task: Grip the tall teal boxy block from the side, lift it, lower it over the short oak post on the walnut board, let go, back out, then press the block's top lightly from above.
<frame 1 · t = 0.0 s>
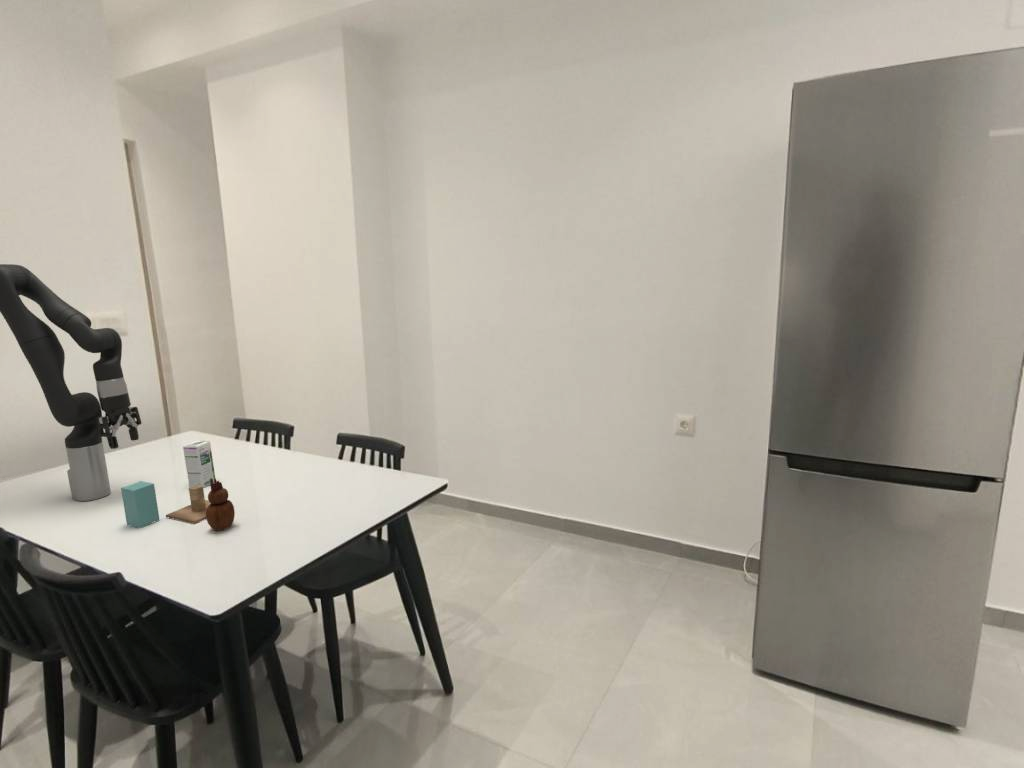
hand: (124, 444, 174), 17 cm above the table, tool pointing down, fingers open, 8 cm apart
post: (199, 512, 164), on the table
teal boxy block: (143, 522, 158), on the table
wooden figurine: (222, 528, 153), on the table
syrup box: (202, 485, 186), on the table
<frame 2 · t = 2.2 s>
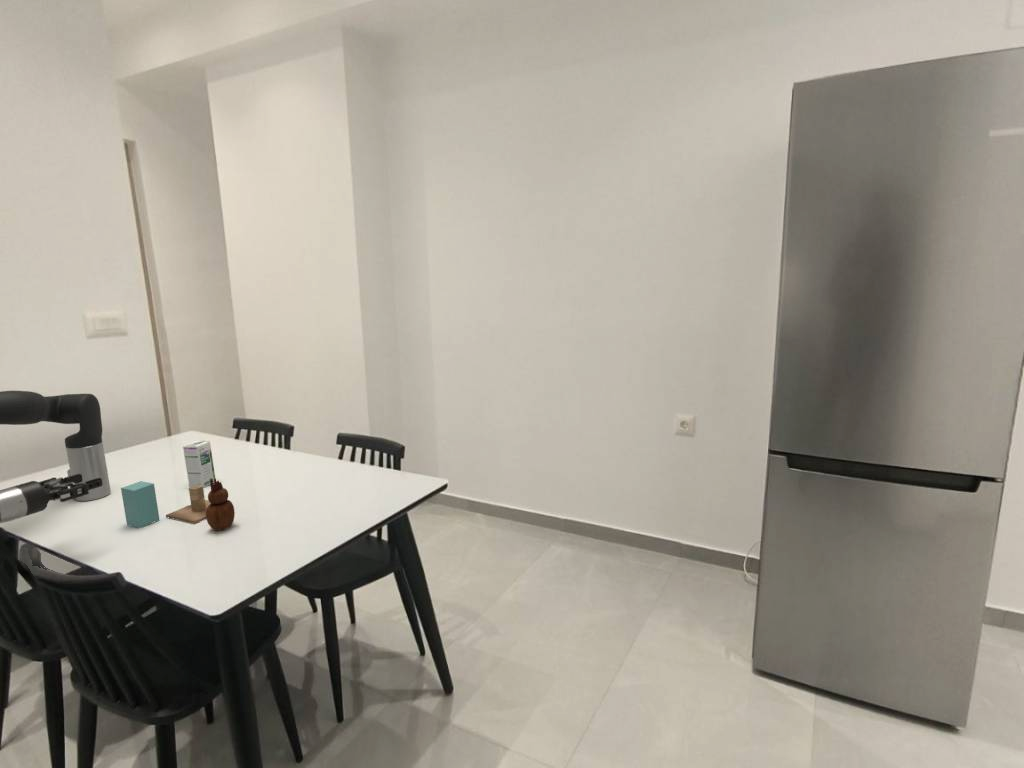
hand: (91, 479, 145), 17 cm above the table, tool horizontal, fingers open, 8 cm apart
nothing on the table moved.
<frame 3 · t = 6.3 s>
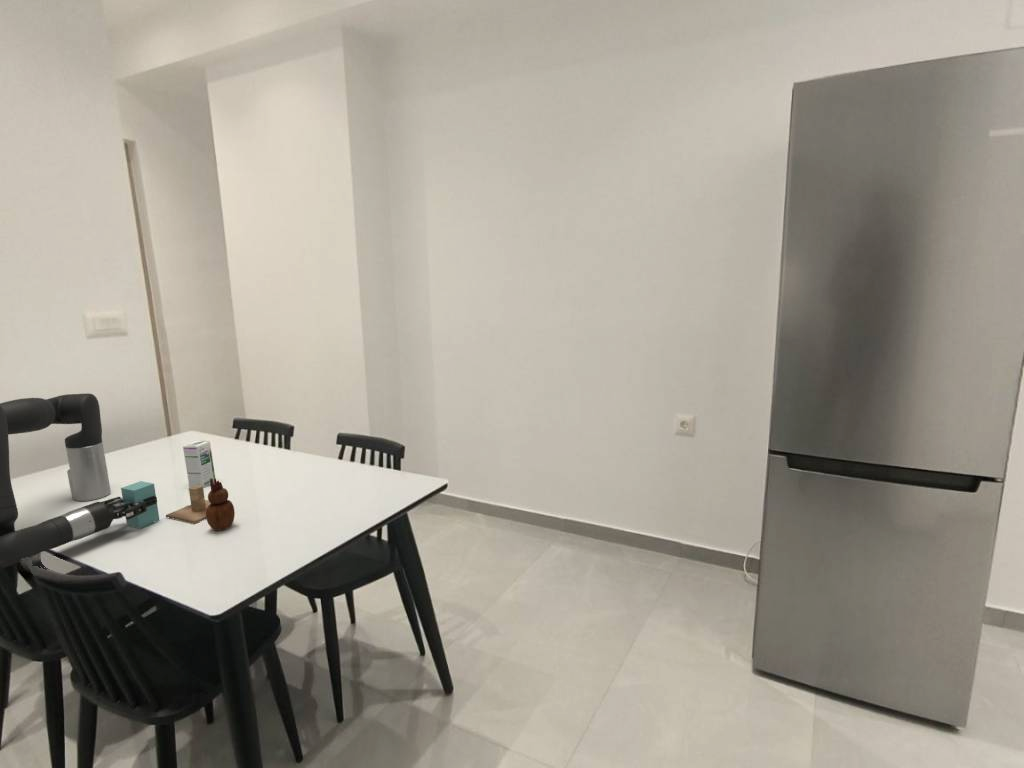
hand: (148, 497, 159), 7 cm above the table, tool horizontal, fingers closed on teal boxy block, 5 cm apart
teal boxy block: (143, 522, 158), on the table, touching gripper
everything else where it was.
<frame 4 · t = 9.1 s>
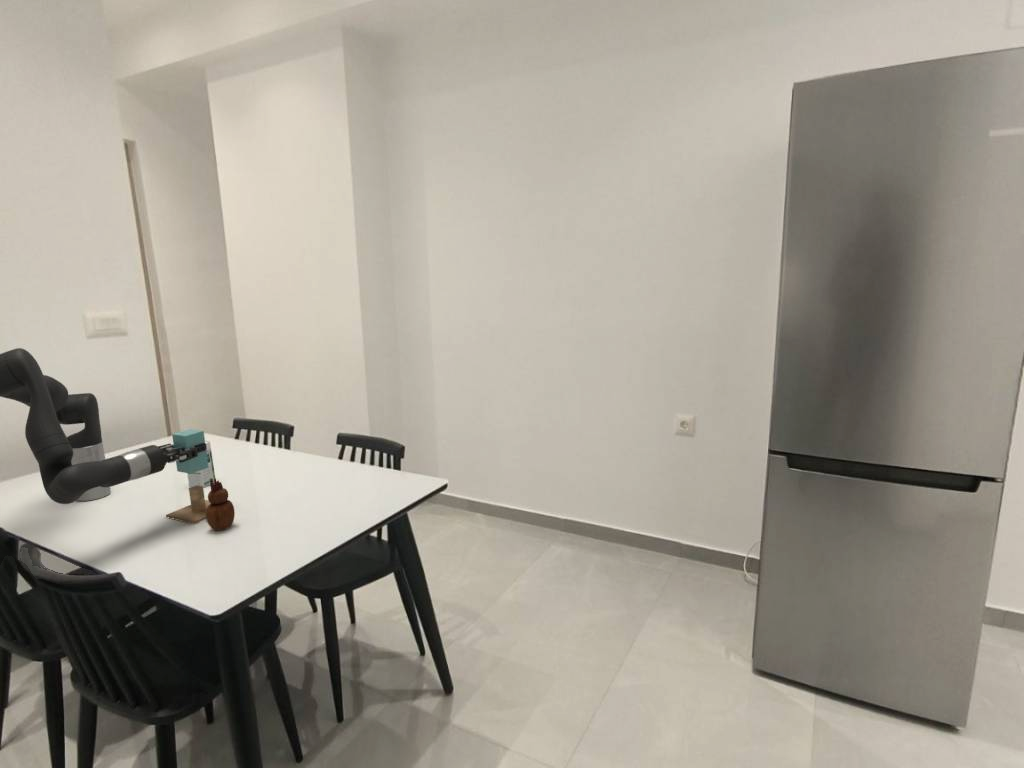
hand: (197, 445, 162), 20 cm above the table, tool horizontal, fingers closed on teal boxy block, 5 cm apart
teal boxy block: (192, 469, 161), point 13 cm above the table, touching gripper
everything else where it was.
when the fingers open (8 cm above the table, at t = 12.3 s): teal boxy block stays where it is, resting on post.
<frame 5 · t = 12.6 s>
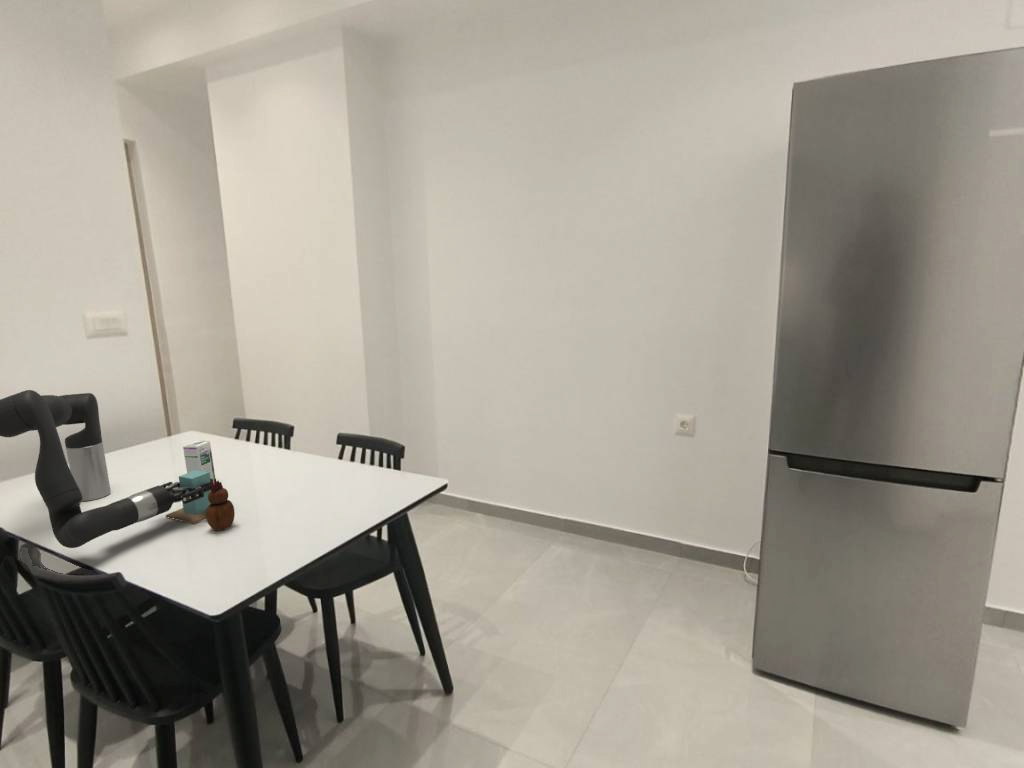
hand: (201, 483, 164), 8 cm above the table, tool horizontal, fingers open, 8 cm apart
teal boxy block: (199, 510, 164), point 1 cm above the table, touching post
everything else where it was.
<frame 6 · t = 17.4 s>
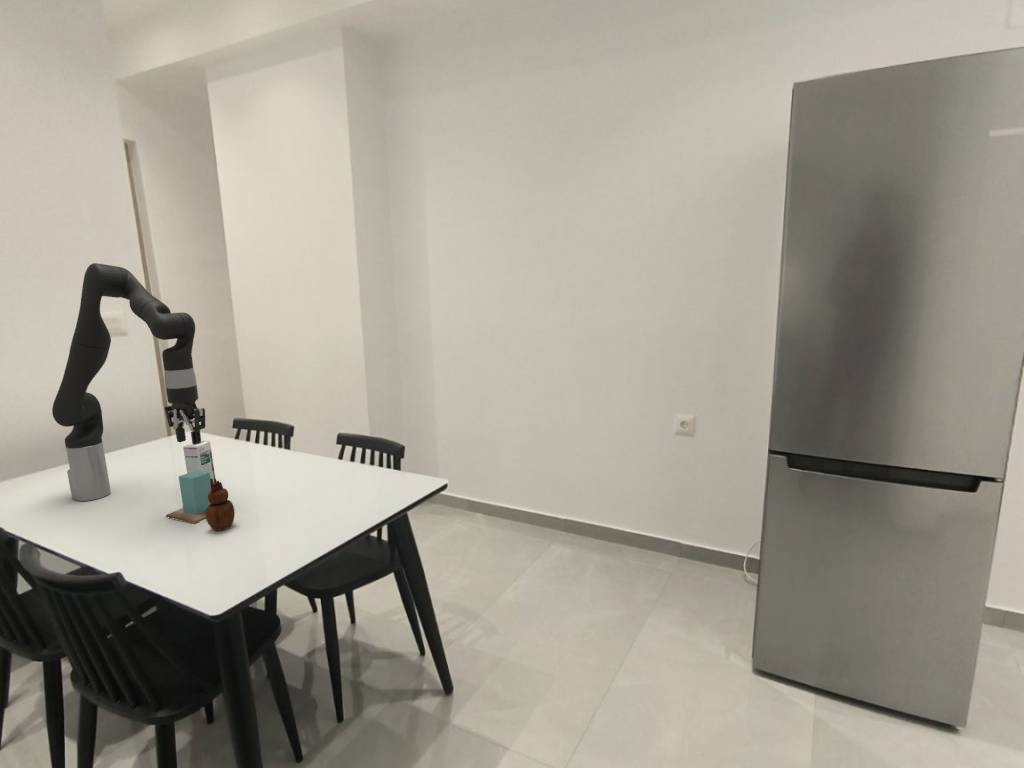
hand: (189, 442, 160), 21 cm above the table, tool pointing down, fingers open, 5 cm apart
nothing on the table moved.
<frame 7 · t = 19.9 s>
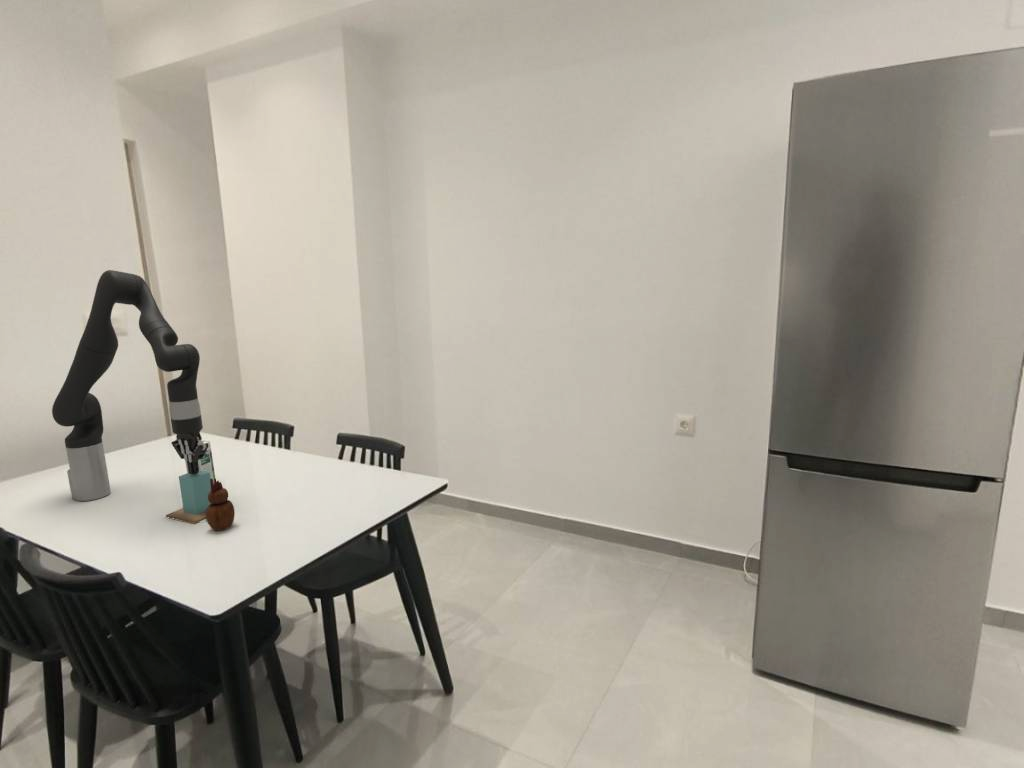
hand: (193, 473, 162), 12 cm above the table, tool pointing down, fingers closed
nothing on the table moved.
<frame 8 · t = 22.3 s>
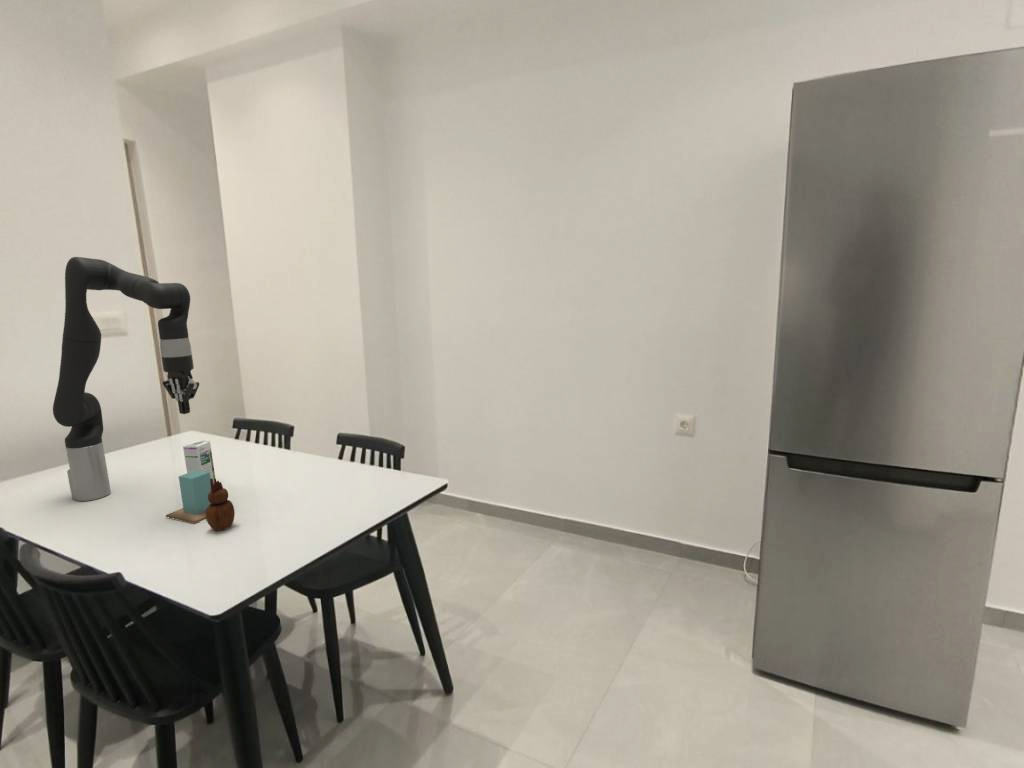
hand: (184, 413, 162), 29 cm above the table, tool pointing down, fingers closed
nothing on the table moved.
at the end: teal boxy block 0.1 cm from the post (horizontally); teal boxy block point 0.8 cm above the table; teal boxy block tilted 0° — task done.
